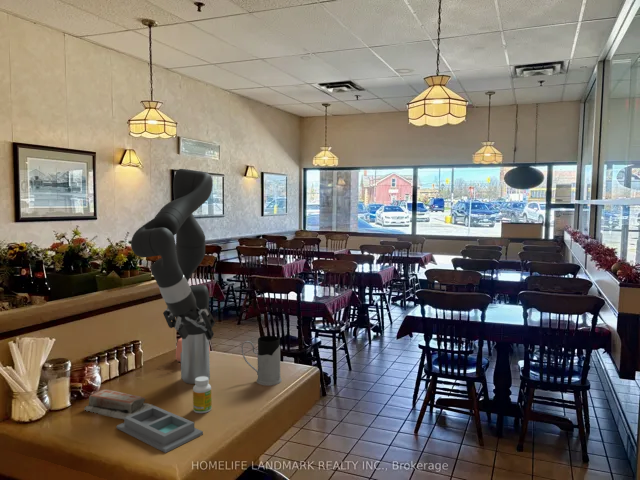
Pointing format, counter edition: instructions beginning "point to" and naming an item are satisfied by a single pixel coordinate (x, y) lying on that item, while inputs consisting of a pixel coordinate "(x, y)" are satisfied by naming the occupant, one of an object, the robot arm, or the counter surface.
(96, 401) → the packaged product
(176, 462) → the counter surface
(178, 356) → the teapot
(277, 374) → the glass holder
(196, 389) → the supplement bottle
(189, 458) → the counter surface
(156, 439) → the divided tray
